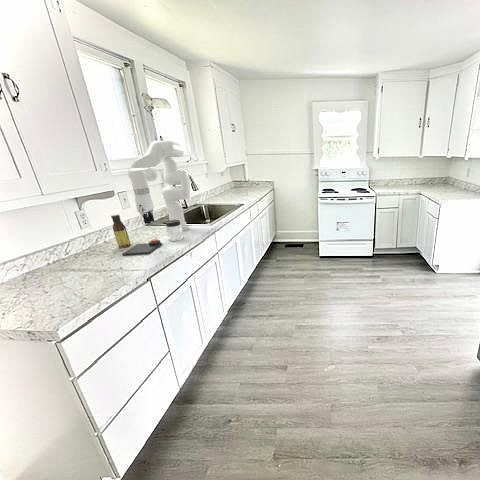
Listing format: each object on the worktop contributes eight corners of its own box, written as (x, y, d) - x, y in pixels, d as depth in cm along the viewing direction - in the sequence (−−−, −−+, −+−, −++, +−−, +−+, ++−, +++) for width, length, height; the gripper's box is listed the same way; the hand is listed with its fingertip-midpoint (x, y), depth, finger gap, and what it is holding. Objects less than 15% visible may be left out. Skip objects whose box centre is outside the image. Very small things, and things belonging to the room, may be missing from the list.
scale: (138, 245, 161) (136, 241, 160) (162, 244, 163) (161, 239, 162) (122, 256, 146) (121, 251, 145) (150, 254, 147) (148, 249, 146)
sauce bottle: (133, 245, 162) (124, 214, 155) (121, 248, 157) (112, 216, 150) (127, 244, 165) (118, 213, 158) (116, 247, 160) (106, 215, 153)
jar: (170, 241, 167) (166, 223, 163) (167, 239, 172) (163, 221, 168) (185, 238, 172) (182, 221, 168) (181, 235, 178) (178, 218, 174)
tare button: (153, 241, 160) (152, 239, 160) (158, 241, 160) (157, 238, 160) (150, 243, 157) (150, 240, 157) (156, 242, 158) (155, 240, 157)
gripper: (142, 189, 156) (149, 219, 162) (126, 194, 140) (135, 226, 147) (155, 189, 157) (162, 218, 163) (141, 193, 141) (149, 226, 147)
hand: (149, 222), depth 155 cm, fingers open, 3 cm apart
